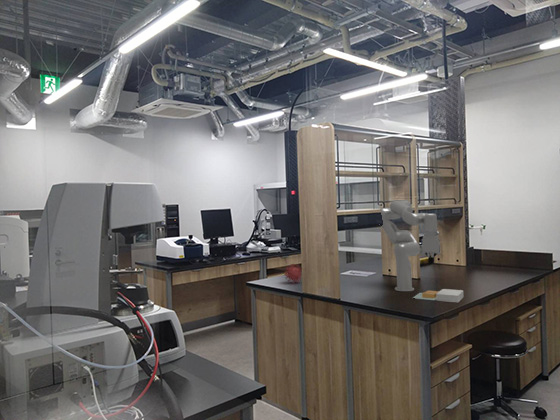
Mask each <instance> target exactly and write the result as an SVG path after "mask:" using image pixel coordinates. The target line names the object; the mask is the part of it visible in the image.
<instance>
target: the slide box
mask: <svg viewBox="0 0 560 420" xmlns="http://www.w3.org/2000/svg"><path fill="white" fill-rule="evenodd" d="M439 291H440V290H439ZM439 291H438V290H437V291H436V290H426V291H424V292H421V293H422V297H425V298H433V299H434V298H436V294H437V293H438V292H439Z"/></svg>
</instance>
